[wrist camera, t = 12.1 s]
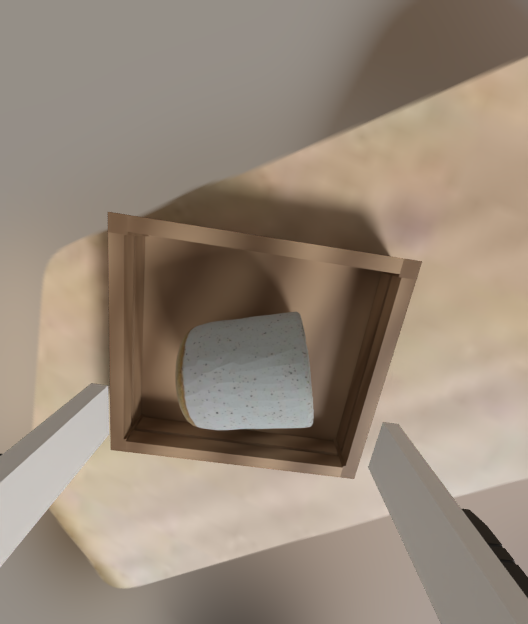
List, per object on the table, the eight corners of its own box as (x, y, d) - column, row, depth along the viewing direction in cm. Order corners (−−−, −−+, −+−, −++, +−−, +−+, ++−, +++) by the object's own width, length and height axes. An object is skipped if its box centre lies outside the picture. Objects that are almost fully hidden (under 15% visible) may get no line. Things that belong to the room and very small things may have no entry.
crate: (391, 258, 20) (422, 261, 16) (339, 442, 25) (354, 479, 21) (139, 218, 19) (107, 211, 15) (135, 416, 24) (110, 449, 20)
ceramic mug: (193, 312, 20) (152, 356, 13) (295, 299, 20) (314, 335, 12) (218, 422, 23) (197, 509, 16) (307, 411, 23) (328, 495, 15)
